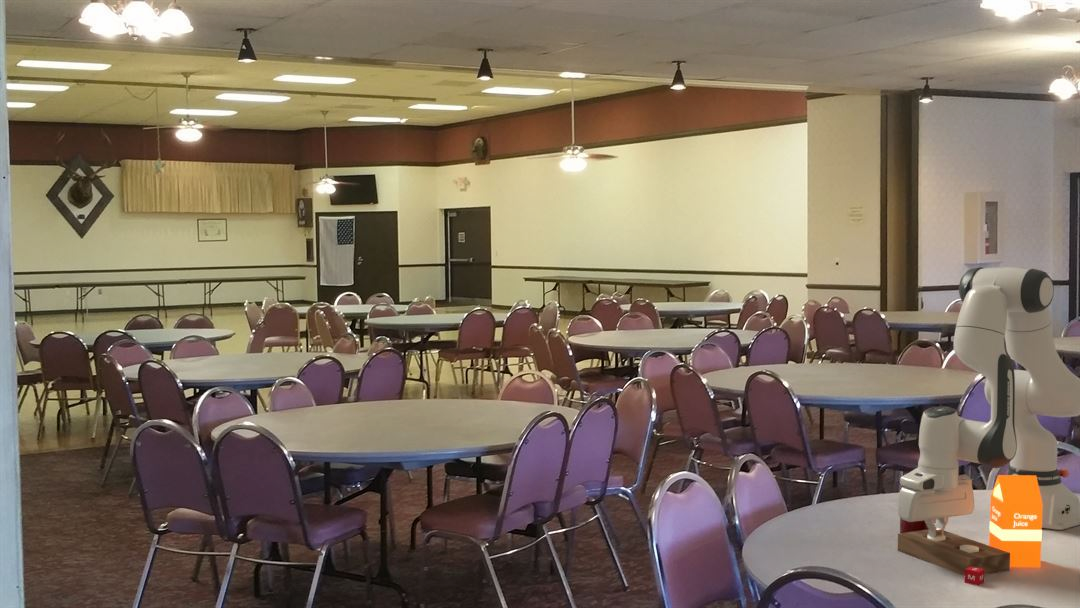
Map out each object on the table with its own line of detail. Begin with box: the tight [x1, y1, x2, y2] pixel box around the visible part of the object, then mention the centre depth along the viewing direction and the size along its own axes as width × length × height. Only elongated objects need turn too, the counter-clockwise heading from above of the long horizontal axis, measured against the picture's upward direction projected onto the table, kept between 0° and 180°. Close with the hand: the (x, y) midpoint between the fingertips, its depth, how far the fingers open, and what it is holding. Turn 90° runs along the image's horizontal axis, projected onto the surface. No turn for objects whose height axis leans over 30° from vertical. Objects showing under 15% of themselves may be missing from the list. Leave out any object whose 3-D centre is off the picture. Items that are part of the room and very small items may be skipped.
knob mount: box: [897, 529, 1011, 577], centre depth 253 cm, size 12×22×4 cm, turn 24°
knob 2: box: [960, 545, 979, 553], centre depth 249 cm, size 4×4×4 cm
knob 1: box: [927, 534, 946, 541], centre depth 258 cm, size 4×4×4 cm
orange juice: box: [988, 474, 1043, 568], centre depth 252 cm, size 8×9×20 cm
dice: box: [964, 566, 986, 586], centre depth 238 cm, size 3×3×3 cm
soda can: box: [899, 517, 929, 534], centre depth 271 cm, size 7×7×12 cm
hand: (936, 536), depth 258 cm, fingers closed, pressing on knob 1
